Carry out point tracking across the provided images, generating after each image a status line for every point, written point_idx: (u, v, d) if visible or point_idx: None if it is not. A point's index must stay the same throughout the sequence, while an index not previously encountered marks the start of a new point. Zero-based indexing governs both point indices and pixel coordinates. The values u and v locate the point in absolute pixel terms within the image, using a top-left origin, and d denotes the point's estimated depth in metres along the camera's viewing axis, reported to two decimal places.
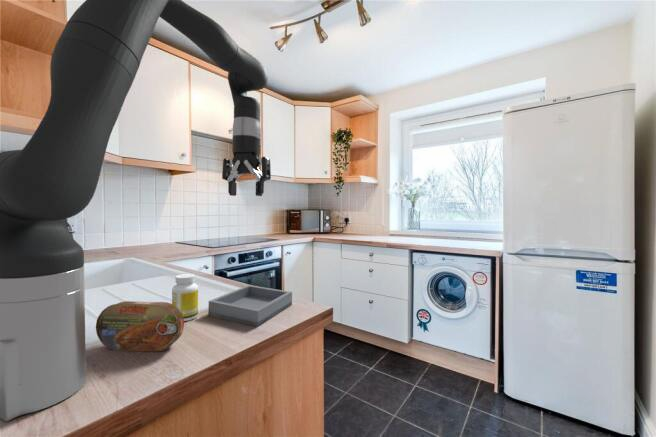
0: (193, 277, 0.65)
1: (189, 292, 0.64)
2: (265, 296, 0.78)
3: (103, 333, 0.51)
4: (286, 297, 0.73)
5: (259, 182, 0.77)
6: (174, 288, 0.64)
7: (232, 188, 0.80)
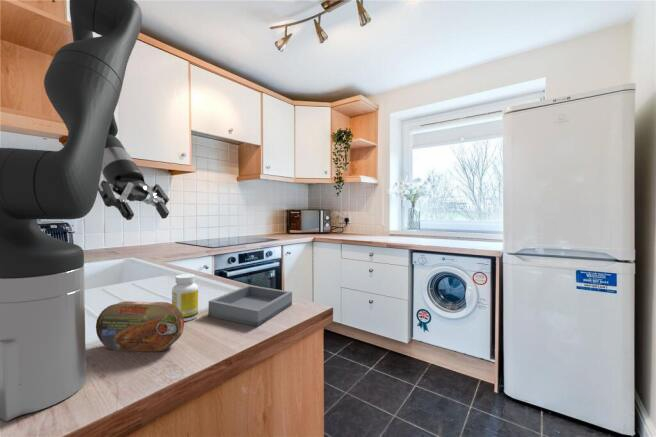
0: (193, 277, 0.65)
1: (189, 292, 0.64)
2: (265, 296, 0.78)
3: (103, 333, 0.51)
4: (286, 297, 0.73)
5: (162, 204, 0.73)
6: (174, 288, 0.64)
7: None
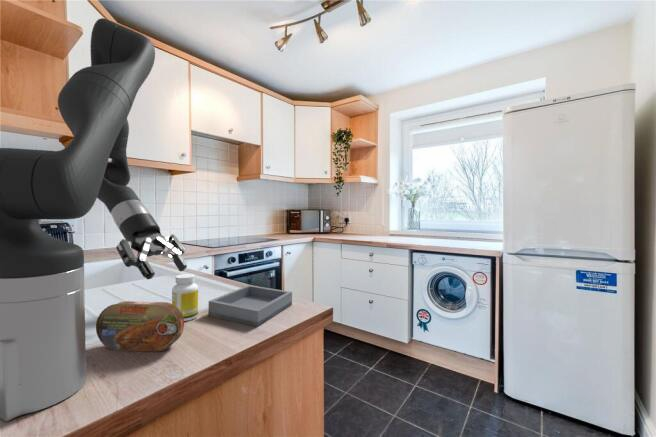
0: (193, 277, 0.65)
1: (189, 292, 0.64)
2: (265, 296, 0.78)
3: (103, 333, 0.51)
4: (286, 297, 0.73)
5: (180, 256, 0.72)
6: (174, 288, 0.64)
7: None
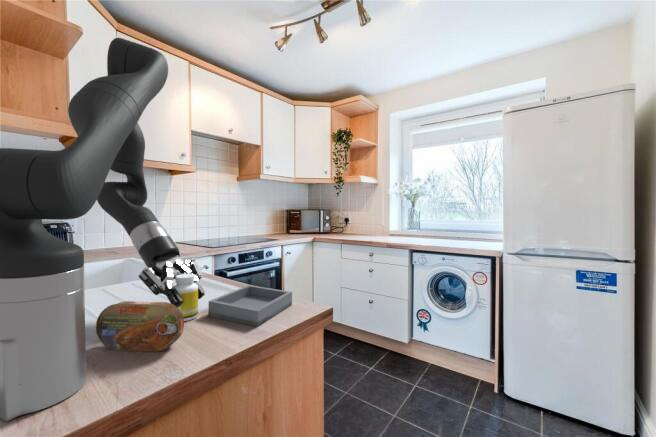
0: (193, 277, 0.65)
1: (189, 292, 0.64)
2: (265, 296, 0.78)
3: (103, 333, 0.51)
4: (286, 297, 0.73)
5: None
6: None
7: None
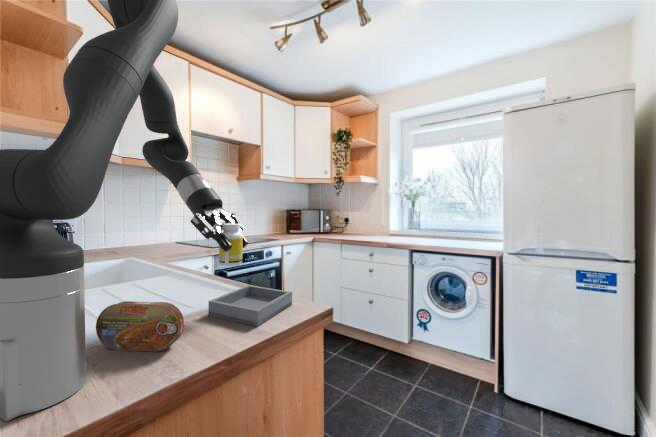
0: (239, 225, 0.69)
1: (236, 238, 0.67)
2: (265, 296, 0.78)
3: (103, 333, 0.51)
4: (286, 297, 0.73)
5: None
6: None
7: None
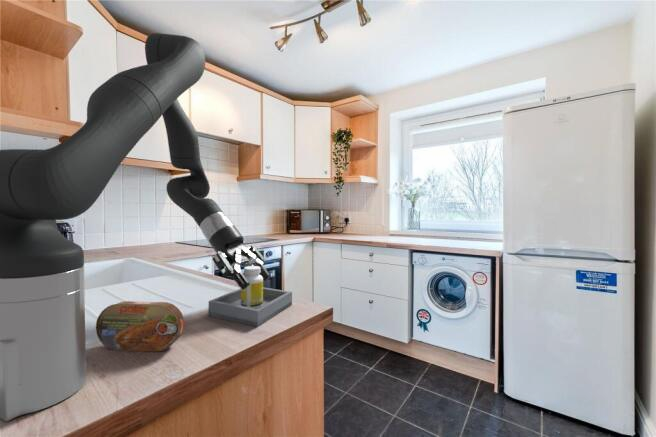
0: (259, 269, 0.71)
1: (257, 283, 0.69)
2: (265, 296, 0.78)
3: (103, 333, 0.51)
4: (286, 297, 0.73)
5: (262, 266, 0.76)
6: None
7: None
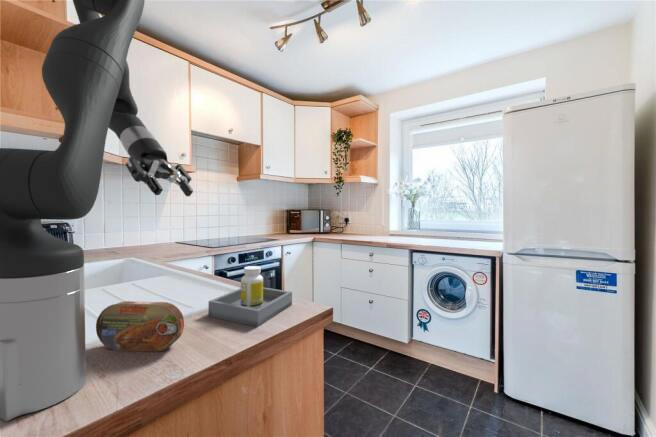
0: (260, 269, 0.71)
1: (257, 283, 0.69)
2: (265, 296, 0.78)
3: (103, 333, 0.51)
4: (286, 297, 0.73)
5: None
6: (244, 279, 0.69)
7: None
